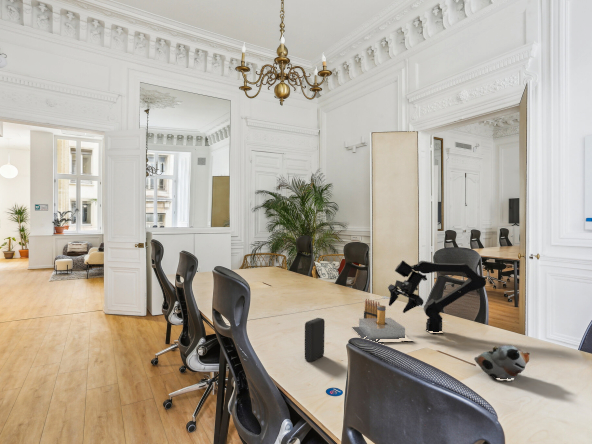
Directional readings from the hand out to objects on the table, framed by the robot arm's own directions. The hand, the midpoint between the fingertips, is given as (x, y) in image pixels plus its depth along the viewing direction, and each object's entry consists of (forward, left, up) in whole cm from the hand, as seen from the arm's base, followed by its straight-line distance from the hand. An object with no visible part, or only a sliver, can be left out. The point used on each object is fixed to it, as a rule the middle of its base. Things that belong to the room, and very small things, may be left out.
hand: (396, 309), depth 165 cm
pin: (+8, +2, -11) cm, 14 cm away
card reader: (+45, +26, -12) cm, 54 cm away
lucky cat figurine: (-18, +48, -12) cm, 53 cm away
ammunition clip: (+5, -18, -12) cm, 22 cm away
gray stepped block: (+8, +2, -12) cm, 15 cm away
